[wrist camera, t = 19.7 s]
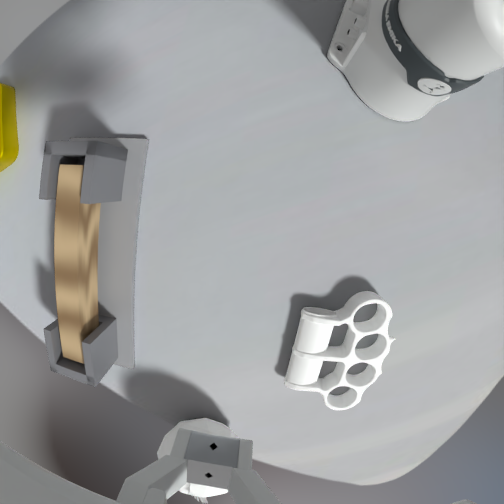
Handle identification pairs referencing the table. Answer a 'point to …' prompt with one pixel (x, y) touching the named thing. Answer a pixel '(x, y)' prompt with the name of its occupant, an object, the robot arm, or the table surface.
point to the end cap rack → (103, 246)
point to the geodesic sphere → (204, 427)
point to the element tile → (8, 127)
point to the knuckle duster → (339, 350)
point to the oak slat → (75, 262)
